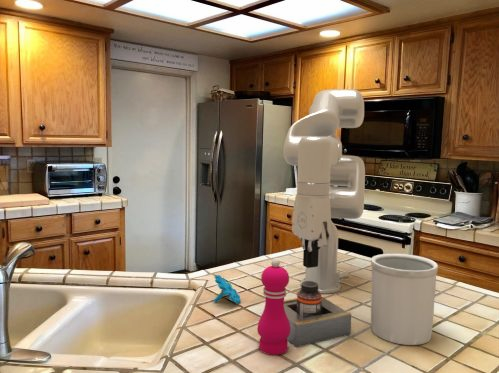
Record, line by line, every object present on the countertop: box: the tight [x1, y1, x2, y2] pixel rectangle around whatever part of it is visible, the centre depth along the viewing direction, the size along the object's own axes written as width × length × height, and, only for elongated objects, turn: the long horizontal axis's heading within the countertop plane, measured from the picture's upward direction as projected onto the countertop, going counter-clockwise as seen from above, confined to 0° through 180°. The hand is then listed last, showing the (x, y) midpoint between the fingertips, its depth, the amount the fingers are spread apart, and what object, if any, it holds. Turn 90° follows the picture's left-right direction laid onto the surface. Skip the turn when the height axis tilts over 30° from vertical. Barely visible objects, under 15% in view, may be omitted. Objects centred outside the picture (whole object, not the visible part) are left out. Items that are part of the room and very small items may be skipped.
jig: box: [284, 296, 352, 348], centre depth 101 cm, size 15×13×5 cm
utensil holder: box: [370, 253, 439, 346], centre depth 99 cm, size 15×15×18 cm
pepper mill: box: [256, 258, 290, 356], centre depth 90 cm, size 7×7×20 cm
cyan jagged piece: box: [213, 274, 242, 305], centre depth 117 cm, size 11×6×10 cm
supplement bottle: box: [296, 281, 323, 318], centre depth 101 cm, size 6×6×11 cm
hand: (310, 266), depth 99 cm, fingers closed
